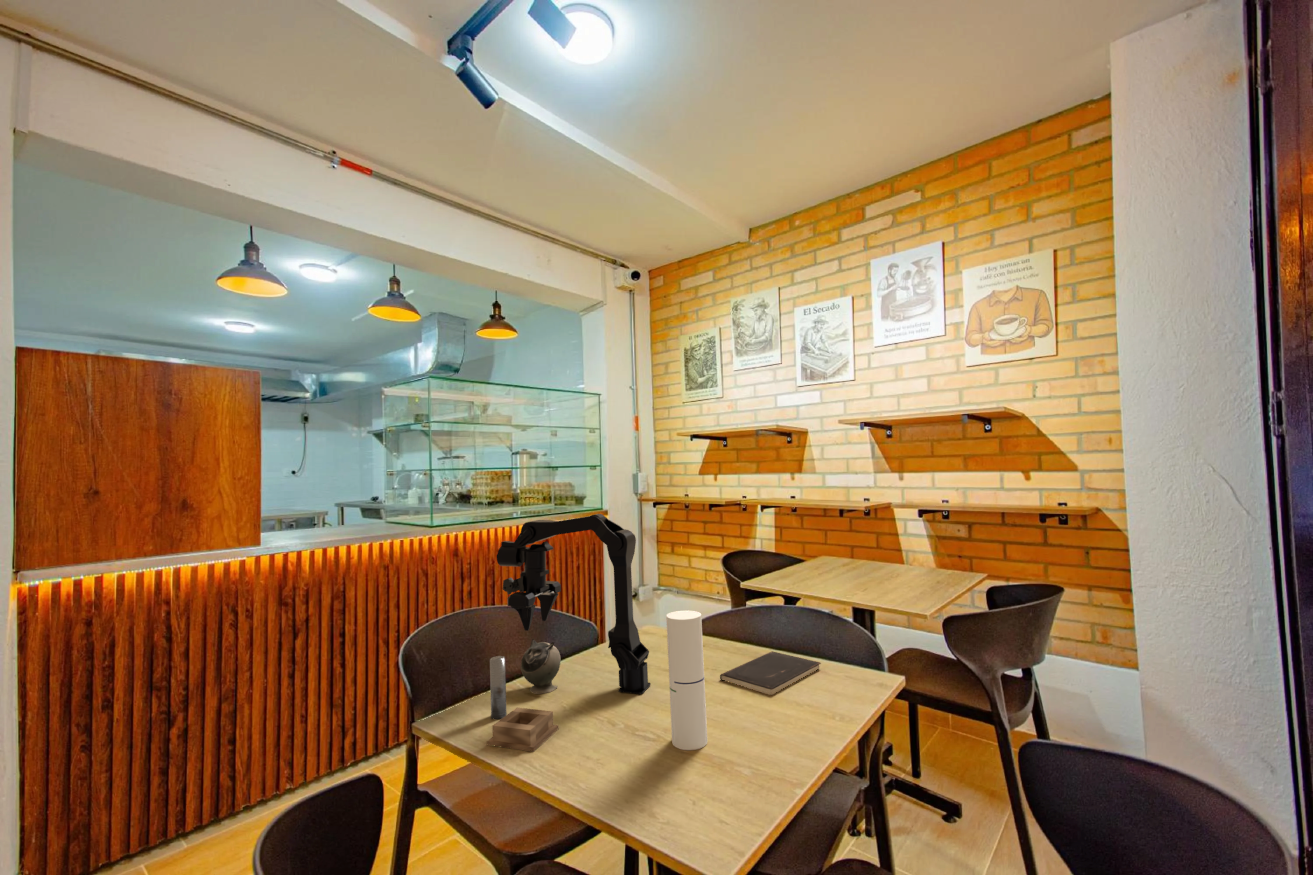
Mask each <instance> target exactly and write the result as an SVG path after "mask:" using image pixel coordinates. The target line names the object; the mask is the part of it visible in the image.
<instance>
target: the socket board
mask: <svg viewBox="0 0 1313 875" xmlns="http://www.w3.org/2000/svg"><path fill="white" fill-rule="evenodd" d="M491 727H492V728H491V729H492V730H491V731H492V737H491V738H489V739H488V740H487V741H486V745H487V744H488V745H487V746H490V745H495V746H494V747H497V746H501V747H500V748H504V747H506V748H507V749H511V748H512V749H513V750H519V751H525V752H535V751H537V749H539V748H540V747H541V746H542V745H543V744H544V743H545V742H547V740H549V738H551V737H552V736H553V735H554V734H555V733H556V732H558V730H559V728H560V727H559V724H554V711H552V710H545V709H544V710H543V709H534V708H525V707H515V708H514V709H513V710H512V711H510V712H509V713H507V715H506V716H505V717H503V718H502V719H498V721H496V722H495V723H493V724H492V726H491ZM512 749H511V750H512Z"/></svg>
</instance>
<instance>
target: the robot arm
mask: <svg viewBox="0 0 1313 875" xmlns="http://www.w3.org/2000/svg"><path fill="white" fill-rule="evenodd" d="M584 531H585V532H586V531H592V532H593V533H594V534H595V535H596V537H597V538H598V539H599V540H600V541H601V542H602V543H603V544H604V545H606V549H607V552H608V553H607V554H608V558H609V560H610V562H611V564H612V567H613V568H612V569H613V585H614V586H613V588H614V606H615V607H614V611H615V612H614V613H615V614H614V615H615V625H614V626H613V627H612V628H611V629H610V630H609V631H607V637H608V641H609V642H608V646H607V648H608V649H610V653H611V656H612V657H614V658H615V660H616V662H617V665H618V669H619V670H618V686H619V687H620V688H618V689H617V690H618V692H619V693H624V694H625V693H626V694H628V693H629V694H635V695H636V694H638V695H643V694H644V693H645V692H646V691H647V689H648V688H649V687H651V685H652V683H651V682H649V675H648V673H649V671H648V662H646V660H648V658H649V655H650V650H649V649H648V648H647V647H646V646H645V645H644V644H643V643H642V642H641V638H640V633H639V629H638V628H637V625H636V623H635V620H634V607H633V604H634V603H633V586H632V585H633V583H632V582H633V581H632V580H633V578H632V562H633V559H634V555H635V550H636V543H637V538H636V535H635V534H634V533H633V531H631V530H629V529H625V528H623V527H622V526H620V525H619V524H618V523H616V522H613V521H612V520H610V519H609V518H608V517H606V516H605V515H604V514H602V513H596V514H595V513H594V514H592V515H589V516H582V517H581V516H580V517H575V518H568V519H562V520H550V519H537V520H532V521H527V522H525V523H523V524H522V527H521V529H520V533H519V534H518V536H517V537H516V539H515V541H510V540H504V541H501V543H500V544H501V545H500V547H499V549H498V551H497V554H496V562H497V564H498V565H499V566H500V567H521V566H523V565H524V569H523V571H521V573H520V576H519V578H516V579H513V577H508V578H506V579H503V582H502V590H503V591H504V592H506V593H507V595H509V596H508V597H507V606H508V607H510V608H511V609H514V610H515V611H517V613H518V616H519V618H520V621H521V623H522V626H523V630H524V631H526V632H529V630H530V627H531V625H532V621H533V616H534V613H535V609H536V606H537V605H536V604H535V602H536V598H537V599H538V600H539V605H540V606H539V607H540V614H541V621H542V622H547V620H548V617H549V615H550V612H551V611H552V608H553V606H554V603H555V601H556V599H557V598H558V596H559V593H560V592H562V585H561V583H560V582H559V581H555V580H554V581H553V580H547V575H548V574H550V570H549V569H547V563H546V562H547V560H546V559H547V558H546V556H547V555H546V554H547V552H549V551H553V550H554V546H552V545H551V544H550V543H549V542H548V540H547V539H550V538H553V537H555V536H558V535H560V536H561V535H565V534H572V533H573V534H574V533H579V532H584ZM544 540H547V541H544ZM540 541H541V542H542V541H543V542H542V543H541V544H540V543H538V544H537V542H540ZM528 545H530V546H528Z"/></svg>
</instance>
